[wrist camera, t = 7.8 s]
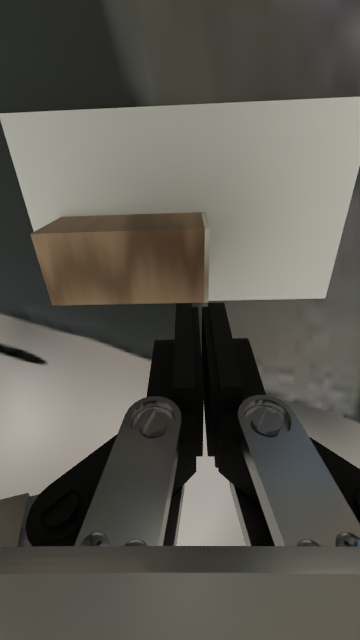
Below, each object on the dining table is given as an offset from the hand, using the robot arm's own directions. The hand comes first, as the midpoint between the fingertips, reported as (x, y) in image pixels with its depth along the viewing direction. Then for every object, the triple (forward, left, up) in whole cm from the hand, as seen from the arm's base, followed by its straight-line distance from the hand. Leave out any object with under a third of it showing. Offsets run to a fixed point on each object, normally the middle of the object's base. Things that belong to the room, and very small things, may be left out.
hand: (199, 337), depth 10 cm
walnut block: (+1, +1, -11) cm, 11 cm away
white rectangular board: (-1, -1, -14) cm, 14 cm away
